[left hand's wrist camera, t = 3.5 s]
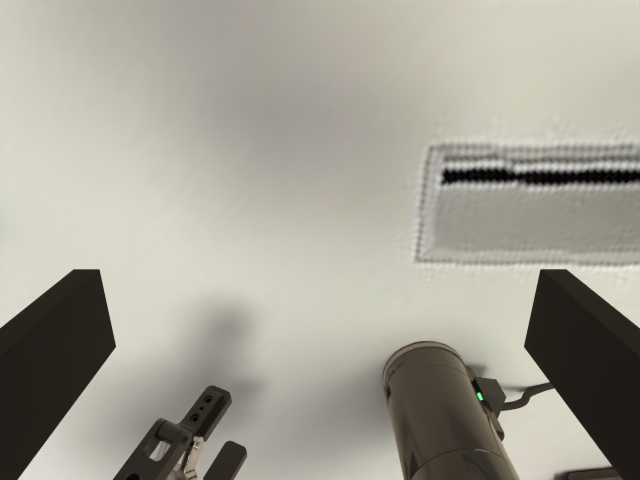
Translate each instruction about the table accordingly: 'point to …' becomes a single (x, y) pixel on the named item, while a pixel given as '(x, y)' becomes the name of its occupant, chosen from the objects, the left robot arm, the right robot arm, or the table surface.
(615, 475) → the toy
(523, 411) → the table surface
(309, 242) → the table surface
